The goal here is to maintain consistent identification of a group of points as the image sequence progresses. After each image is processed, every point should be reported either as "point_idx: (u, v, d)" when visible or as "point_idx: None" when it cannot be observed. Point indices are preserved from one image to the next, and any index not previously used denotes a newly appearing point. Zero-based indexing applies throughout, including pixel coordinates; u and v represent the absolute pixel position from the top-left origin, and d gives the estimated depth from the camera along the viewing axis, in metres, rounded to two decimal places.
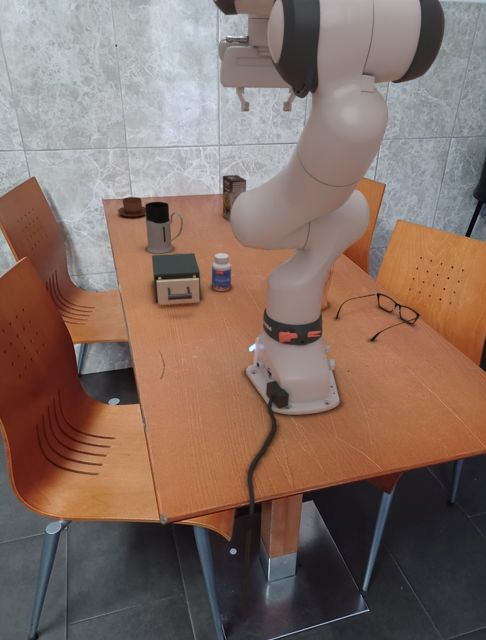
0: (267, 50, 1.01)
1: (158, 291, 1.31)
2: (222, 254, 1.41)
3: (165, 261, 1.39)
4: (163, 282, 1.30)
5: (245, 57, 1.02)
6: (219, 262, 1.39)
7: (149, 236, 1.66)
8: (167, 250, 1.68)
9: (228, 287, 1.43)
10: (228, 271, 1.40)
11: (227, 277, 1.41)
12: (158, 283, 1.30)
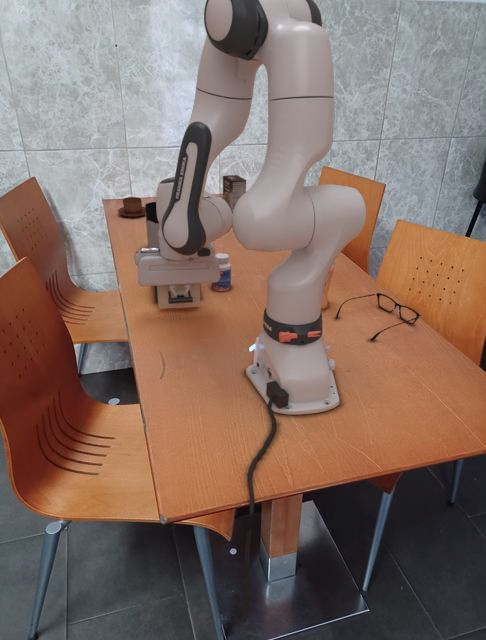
0: (175, 260, 1.18)
1: (158, 295, 1.29)
2: (222, 254, 1.41)
3: None
4: (163, 285, 1.28)
5: (157, 264, 1.19)
6: (219, 262, 1.39)
7: (149, 236, 1.66)
8: None
9: (228, 287, 1.43)
10: (228, 271, 1.40)
11: (227, 277, 1.41)
12: (158, 286, 1.28)
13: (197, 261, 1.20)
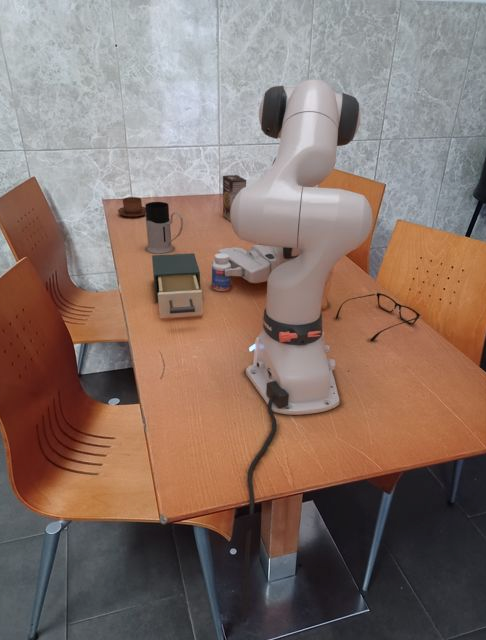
0: (251, 251, 1.46)
1: (159, 304, 1.24)
2: (222, 254, 1.41)
3: (165, 261, 1.39)
4: (165, 294, 1.23)
5: (240, 251, 1.49)
6: (219, 262, 1.39)
7: (149, 236, 1.66)
8: (167, 250, 1.68)
9: (228, 287, 1.43)
10: None
11: (227, 277, 1.41)
12: (159, 295, 1.23)
13: (259, 259, 1.42)
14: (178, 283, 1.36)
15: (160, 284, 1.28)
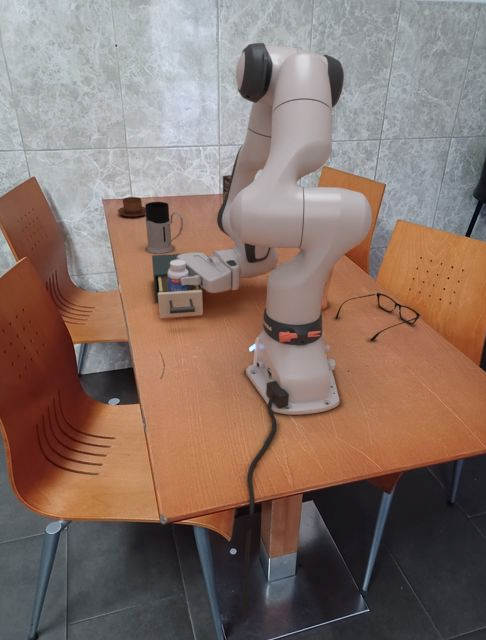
0: (212, 257, 1.32)
1: (159, 304, 1.24)
2: (178, 260, 1.27)
3: (165, 261, 1.39)
4: (165, 294, 1.23)
5: (201, 257, 1.35)
6: (174, 269, 1.25)
7: (149, 236, 1.66)
8: (167, 250, 1.68)
9: None
10: None
11: (184, 286, 1.27)
12: (159, 295, 1.23)
13: (219, 266, 1.28)
14: None
15: (160, 284, 1.28)
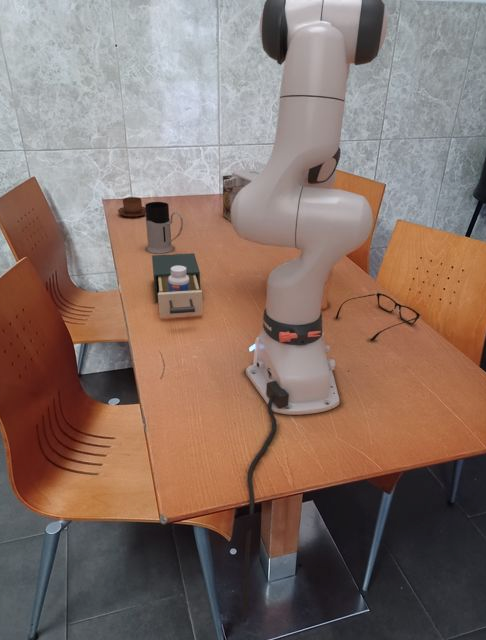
0: None
1: (159, 304, 1.24)
2: (179, 266, 1.28)
3: (165, 261, 1.39)
4: (165, 294, 1.23)
5: (257, 173, 1.31)
6: (175, 275, 1.26)
7: (149, 236, 1.66)
8: (167, 250, 1.68)
9: None
10: (185, 285, 1.27)
11: None
12: (159, 296, 1.23)
13: None
14: None
15: (160, 284, 1.28)
